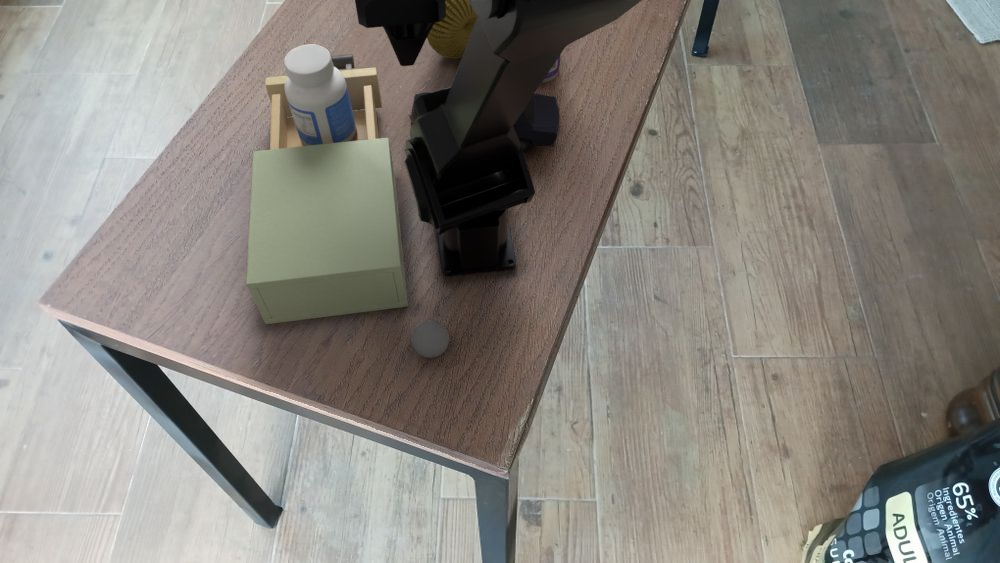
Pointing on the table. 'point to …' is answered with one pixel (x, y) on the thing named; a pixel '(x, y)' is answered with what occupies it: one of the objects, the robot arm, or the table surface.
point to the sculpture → (453, 29)
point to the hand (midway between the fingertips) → (402, 29)
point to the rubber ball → (430, 339)
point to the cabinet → (325, 231)
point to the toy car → (534, 121)
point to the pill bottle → (318, 97)
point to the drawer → (360, 93)
